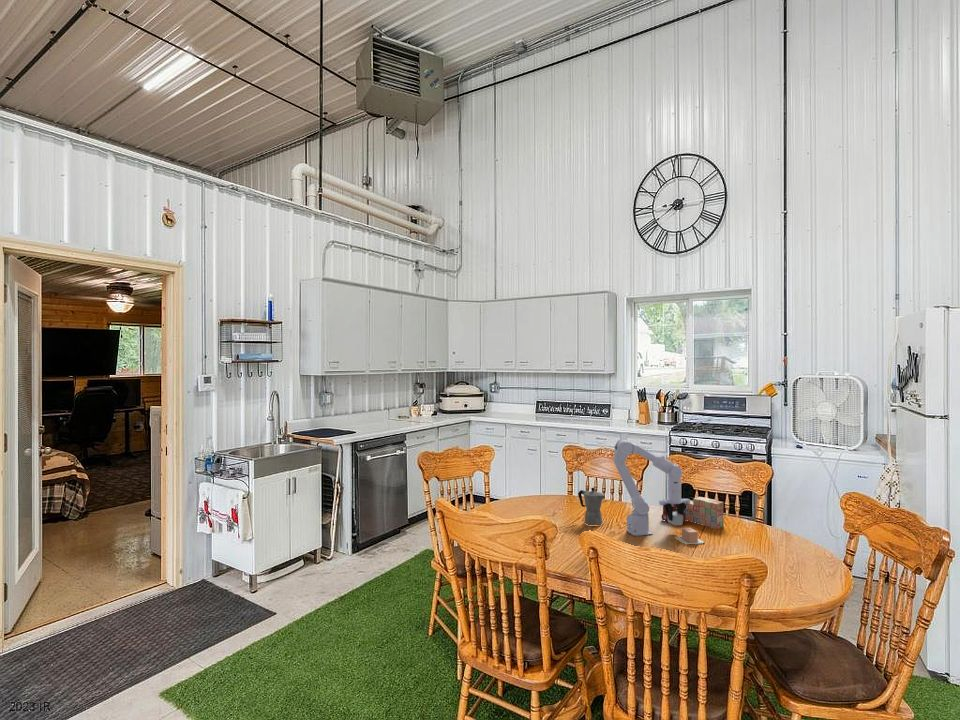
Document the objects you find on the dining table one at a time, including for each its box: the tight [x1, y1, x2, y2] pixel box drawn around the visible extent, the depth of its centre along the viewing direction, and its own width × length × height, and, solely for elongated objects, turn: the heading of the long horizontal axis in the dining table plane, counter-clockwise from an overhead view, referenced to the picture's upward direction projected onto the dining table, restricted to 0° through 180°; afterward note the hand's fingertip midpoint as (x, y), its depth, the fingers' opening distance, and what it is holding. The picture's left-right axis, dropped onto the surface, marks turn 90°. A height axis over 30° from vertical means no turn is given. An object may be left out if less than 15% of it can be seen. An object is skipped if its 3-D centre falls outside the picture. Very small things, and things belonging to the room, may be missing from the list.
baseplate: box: [674, 536, 706, 546], centre depth 224 cm, size 9×9×1 cm
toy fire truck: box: [661, 498, 686, 523], centre depth 252 cm, size 7×12×10 cm, turn 34°
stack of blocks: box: [684, 496, 725, 530], centre depth 251 cm, size 21×6×12 cm, turn 35°
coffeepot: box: [577, 487, 606, 525], centre depth 251 cm, size 15×9×18 cm, turn 44°
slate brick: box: [668, 512, 684, 526], centre depth 235 cm, size 4×6×4 cm, turn 10°
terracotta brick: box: [681, 527, 699, 542], centre depth 224 cm, size 4×6×4 cm, turn 10°
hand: (674, 519), depth 235 cm, fingers closed on slate brick, 4 cm apart
